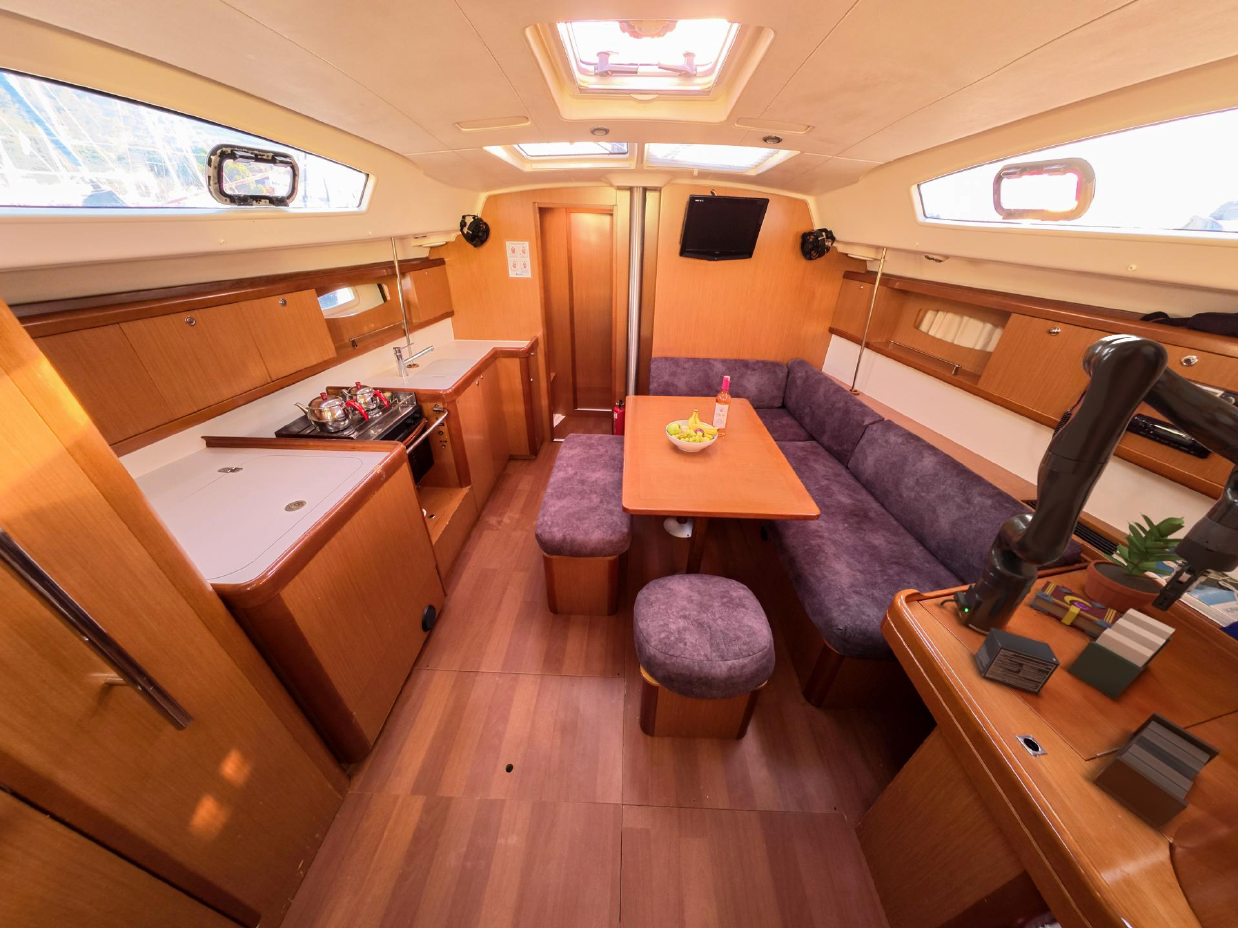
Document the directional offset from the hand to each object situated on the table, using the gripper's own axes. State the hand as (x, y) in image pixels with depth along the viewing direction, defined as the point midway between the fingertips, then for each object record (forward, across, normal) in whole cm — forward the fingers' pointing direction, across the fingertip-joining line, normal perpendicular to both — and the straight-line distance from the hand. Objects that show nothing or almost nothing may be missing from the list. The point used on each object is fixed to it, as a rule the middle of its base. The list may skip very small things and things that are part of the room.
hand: (1164, 601), depth 87 cm
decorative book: (+22, -15, -11) cm, 29 cm away
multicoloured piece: (+22, 0, 0) cm, 22 cm away
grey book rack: (+22, +27, +13) cm, 37 cm away
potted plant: (+22, -34, -9) cm, 41 cm away
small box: (+22, +25, -10) cm, 35 cm away
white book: (+21, 0, 0) cm, 21 cm away
